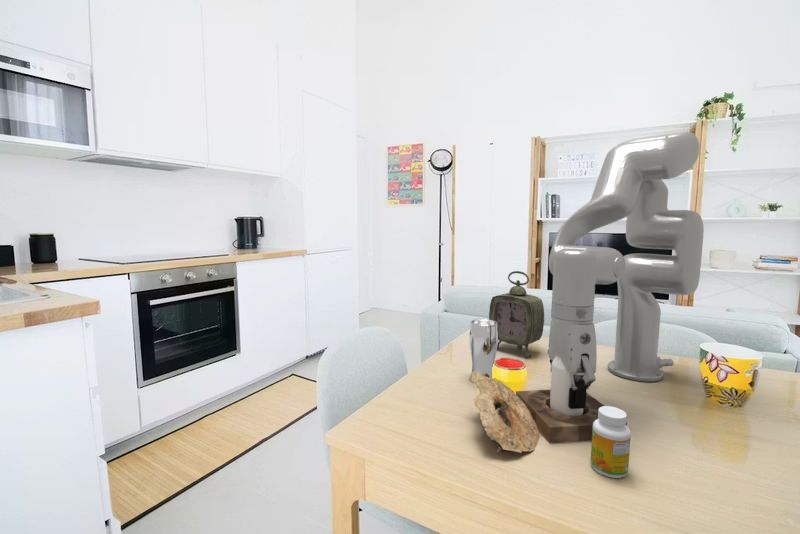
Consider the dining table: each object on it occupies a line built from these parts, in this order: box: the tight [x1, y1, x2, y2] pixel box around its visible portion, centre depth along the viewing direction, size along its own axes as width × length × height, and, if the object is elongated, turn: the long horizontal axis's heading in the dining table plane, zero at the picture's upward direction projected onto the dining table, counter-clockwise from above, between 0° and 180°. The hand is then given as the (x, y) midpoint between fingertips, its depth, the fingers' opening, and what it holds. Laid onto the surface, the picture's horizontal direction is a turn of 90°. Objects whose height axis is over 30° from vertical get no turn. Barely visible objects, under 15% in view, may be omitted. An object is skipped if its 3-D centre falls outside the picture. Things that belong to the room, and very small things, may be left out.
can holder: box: [515, 388, 628, 444], centre depth 77 cm, size 15×15×3 cm
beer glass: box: [469, 318, 499, 383], centre depth 96 cm, size 7×7×15 cm
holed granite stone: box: [471, 372, 541, 454], centre depth 74 cm, size 18×14×8 cm
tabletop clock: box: [488, 270, 545, 358], centre depth 117 cm, size 14×9×25 cm, turn 43°
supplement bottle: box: [590, 405, 632, 479], centre depth 62 cm, size 5×5×10 cm
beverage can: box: [550, 356, 583, 416], centre depth 77 cm, size 6×6×12 cm
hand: (567, 399), depth 77 cm, fingers closed on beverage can, 5 cm apart
